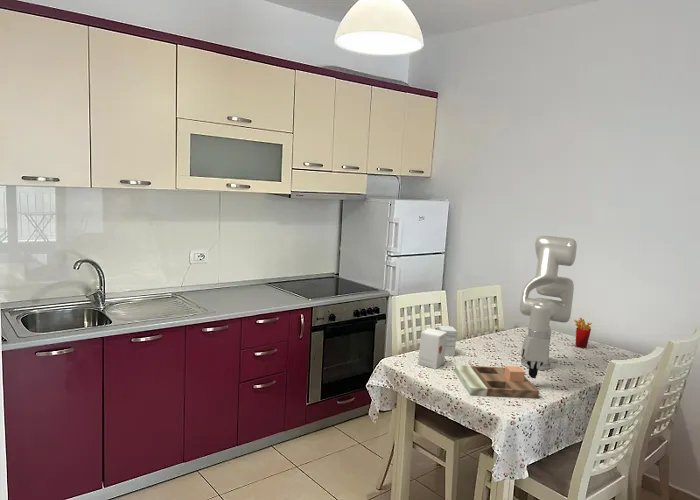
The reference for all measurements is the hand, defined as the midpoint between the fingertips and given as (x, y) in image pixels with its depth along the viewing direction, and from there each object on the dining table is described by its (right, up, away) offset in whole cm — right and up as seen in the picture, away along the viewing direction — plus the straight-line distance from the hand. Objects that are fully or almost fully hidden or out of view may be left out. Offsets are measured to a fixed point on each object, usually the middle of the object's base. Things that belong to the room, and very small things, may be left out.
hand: (532, 376), depth 213 cm
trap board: (-16, -3, 0) cm, 16 cm away
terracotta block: (-8, -1, 0) cm, 8 cm away
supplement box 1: (-39, +1, +18) cm, 43 cm away
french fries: (+46, +1, +60) cm, 76 cm away
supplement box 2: (-30, +3, +33) cm, 45 cm away
